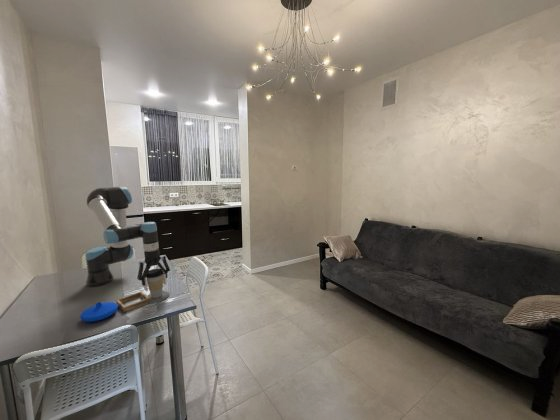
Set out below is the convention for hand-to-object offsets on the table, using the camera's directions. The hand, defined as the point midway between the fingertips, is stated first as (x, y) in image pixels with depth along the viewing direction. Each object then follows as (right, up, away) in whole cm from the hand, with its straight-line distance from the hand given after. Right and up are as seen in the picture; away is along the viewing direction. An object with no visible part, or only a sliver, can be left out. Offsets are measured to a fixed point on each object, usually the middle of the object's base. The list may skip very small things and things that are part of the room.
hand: (155, 286), depth 143 cm
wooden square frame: (-10, -8, -5) cm, 13 cm away
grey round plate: (0, -7, +1) cm, 7 cm away
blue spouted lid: (-20, -10, -16) cm, 28 cm away
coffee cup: (0, -6, +1) cm, 6 cm away
